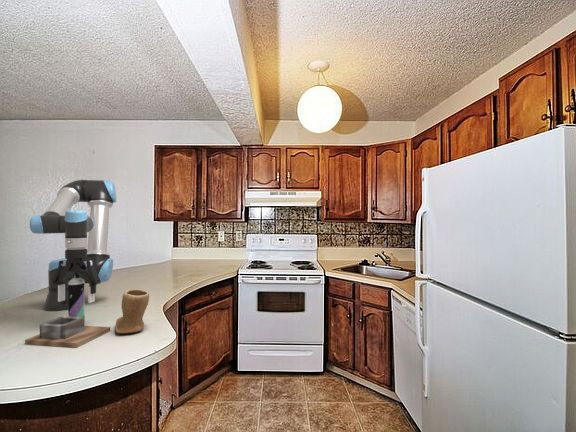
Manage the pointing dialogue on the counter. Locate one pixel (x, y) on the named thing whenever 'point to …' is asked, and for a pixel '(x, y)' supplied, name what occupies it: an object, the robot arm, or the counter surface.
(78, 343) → the socket board
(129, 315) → the tan boot-shaped piece
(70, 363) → the counter surface
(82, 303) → the spray can
